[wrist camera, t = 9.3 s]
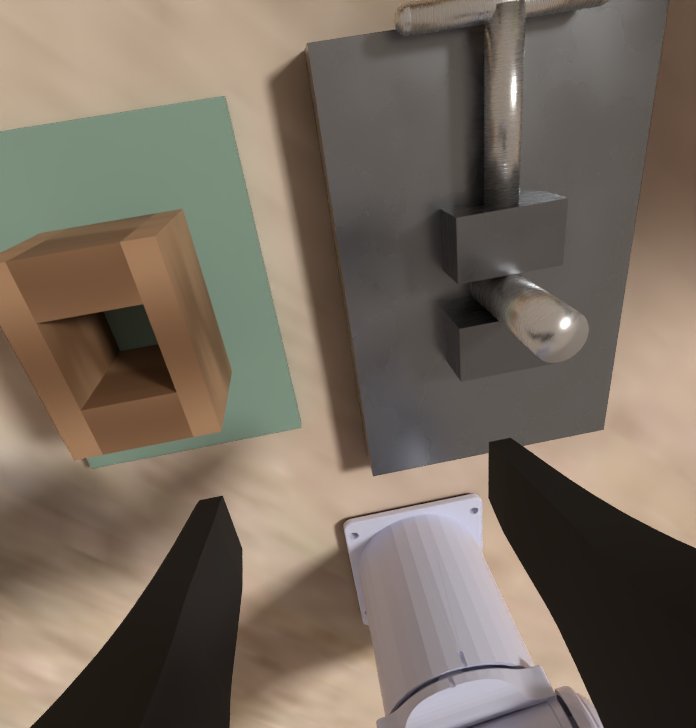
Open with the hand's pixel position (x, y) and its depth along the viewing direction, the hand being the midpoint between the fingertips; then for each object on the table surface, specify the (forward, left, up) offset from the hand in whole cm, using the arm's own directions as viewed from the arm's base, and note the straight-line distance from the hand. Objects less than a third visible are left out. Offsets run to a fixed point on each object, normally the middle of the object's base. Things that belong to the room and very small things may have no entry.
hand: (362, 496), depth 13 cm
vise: (+2, -7, -10) cm, 12 cm away
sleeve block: (+3, +7, -9) cm, 12 cm away
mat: (+3, +7, -10) cm, 12 cm away
